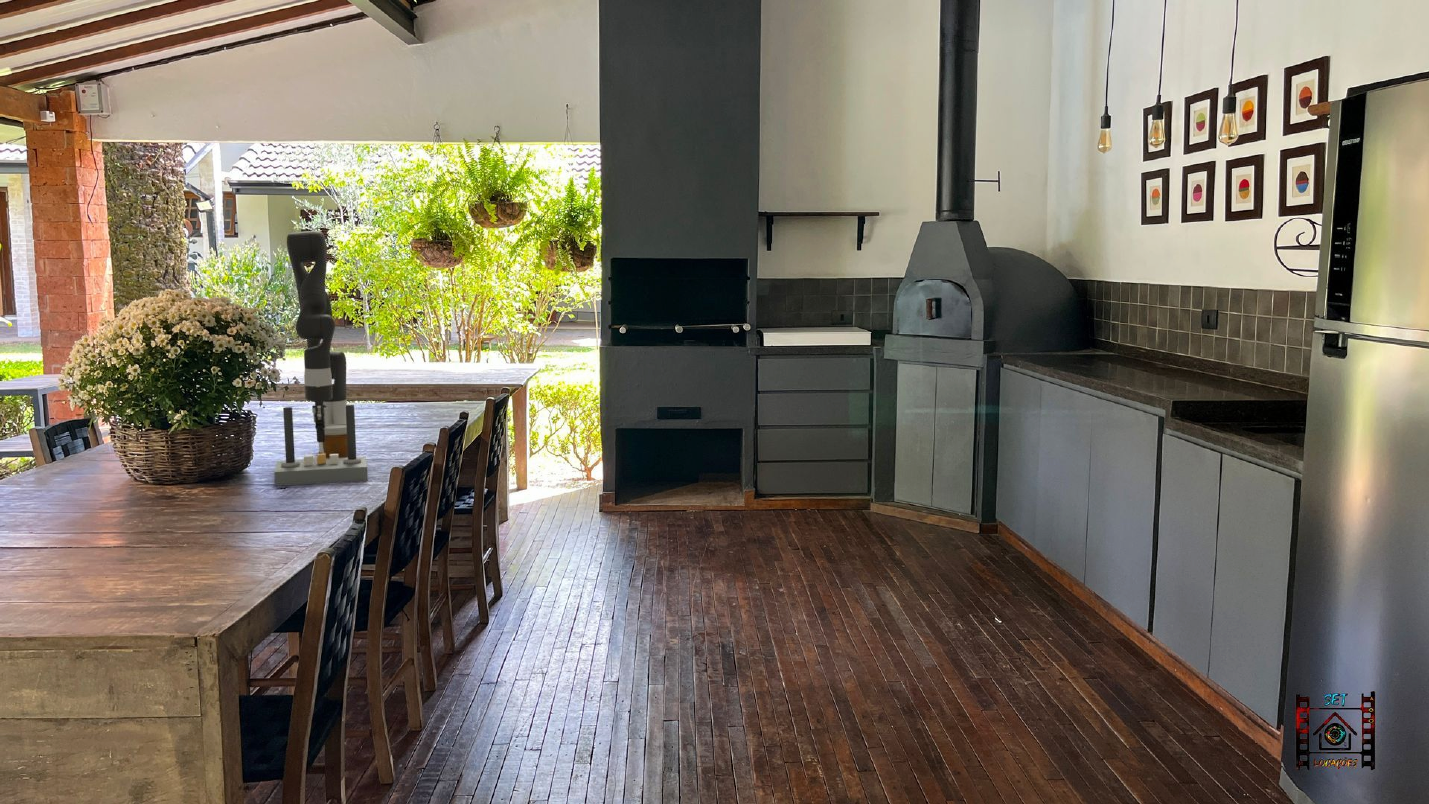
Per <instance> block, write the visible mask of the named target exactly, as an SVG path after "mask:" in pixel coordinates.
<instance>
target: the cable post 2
mask: <svg viewBox="0 0 1429 804" xmlns="http://www.w3.org/2000/svg"><path fill="white" fill-rule="evenodd" d="M355 412H356V411H355V405H354V404H347V405H346V427H347V450H348V458H345V459H343V463H345V464H357V463H360V462H361V458H359V457H360V456H357V439H356V438H357V437H356V418H355V414H356V413H355Z"/></svg>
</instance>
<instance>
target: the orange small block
mask: <svg viewBox="0 0 1429 804" xmlns="http://www.w3.org/2000/svg"><path fill="white" fill-rule="evenodd" d="M316 459H317V464H323V463H326V453H325V454H324V453H316Z"/></svg>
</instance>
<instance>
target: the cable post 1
mask: <svg viewBox="0 0 1429 804" xmlns="http://www.w3.org/2000/svg"><path fill="white" fill-rule="evenodd" d="M282 410H283V411H282V413H283V414H282V415H283V428H284V448H285V460H283V461H284V462H281V467H297V466H300V461H295V460H296V458H295V441H294V440H295V438H294V437H295V436H294V419H293V418H294V415H293V407H292V406H291V407H289V406H287V407H286V406H285V407H283V408H282Z"/></svg>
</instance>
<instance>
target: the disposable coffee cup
mask: <svg viewBox="0 0 1429 804" xmlns="http://www.w3.org/2000/svg"><path fill="white" fill-rule="evenodd" d="M322 443H323V449H324V453H323V454H325V453H326V459H327V458H330V454H338V457H339V458H346V457H348V450H347V427H346V424H328V425H325V442H322Z"/></svg>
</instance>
